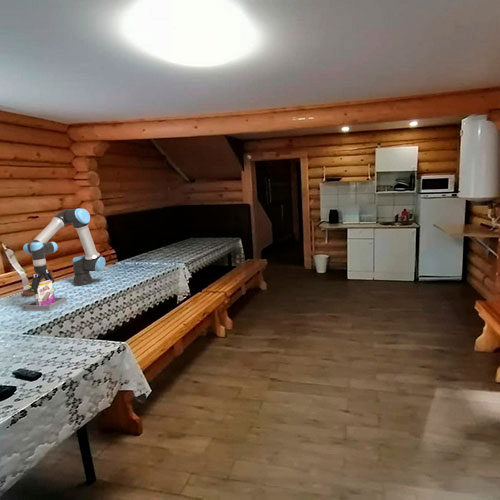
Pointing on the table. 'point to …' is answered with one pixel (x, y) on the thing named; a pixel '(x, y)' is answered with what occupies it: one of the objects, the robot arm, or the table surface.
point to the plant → (28, 292)
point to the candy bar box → (45, 293)
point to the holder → (57, 303)
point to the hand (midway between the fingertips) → (45, 295)
